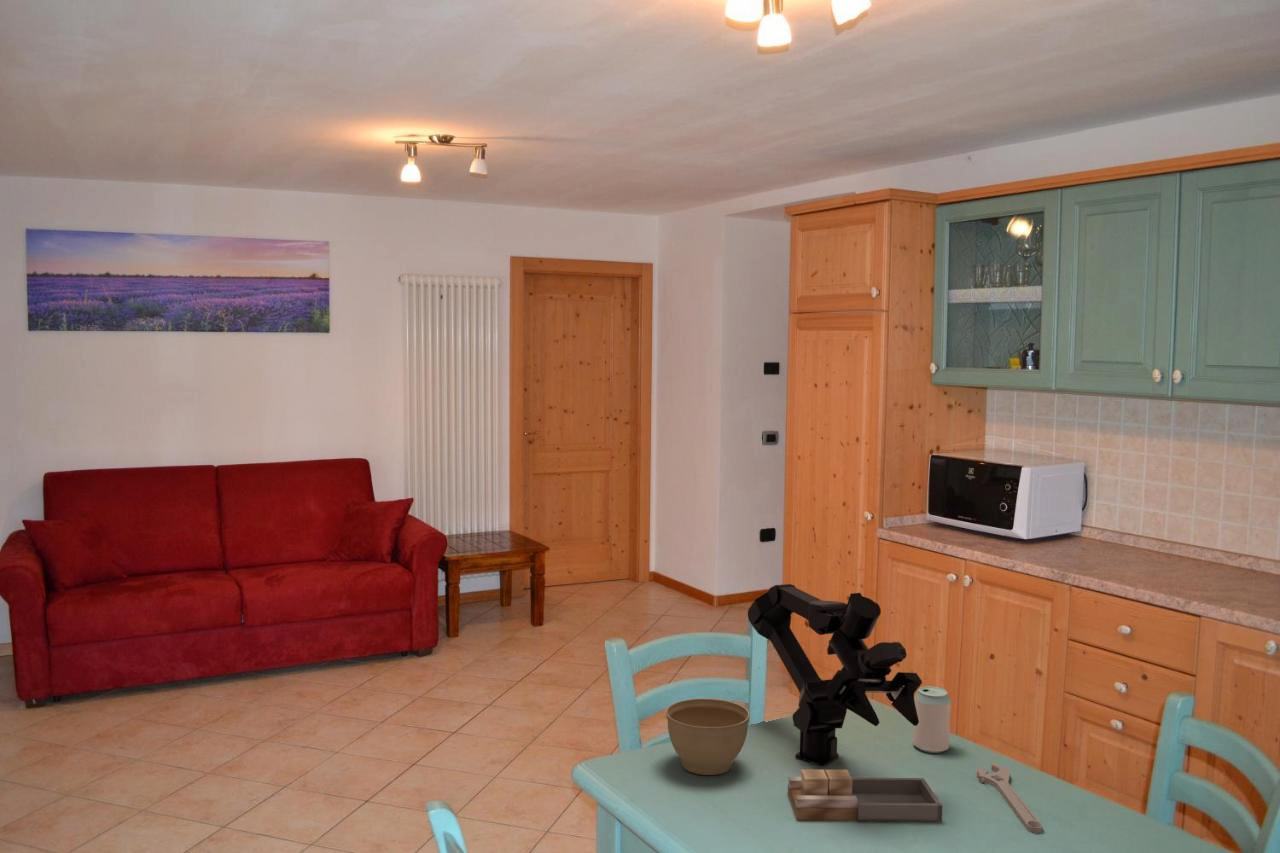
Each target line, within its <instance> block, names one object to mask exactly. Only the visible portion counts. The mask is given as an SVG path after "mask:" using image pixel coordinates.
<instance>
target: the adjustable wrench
mask: <svg viewBox="0 0 1280 853" xmlns="http://www.w3.org/2000/svg"><path fill="white" fill-rule="evenodd" d="M991 770H992V771H991V772H989V771H988V770H987V769H985V768H983V767H982V766H977V767H976V778H977V779H978V783H982V784H985V783H986V785H988V784H989V785H988V786H990V785H991V786H990V787H992V786H993V788H994V787H995V788H994V789H996V790H997V792H998V793H999V792H1000V793H999V794H1000V795H1002V796H1001V797H1002V799H1003V800H1004V799H1005V800H1004V801H1005V802H1006V804H1007V805H1008V806H1009V808H1010V809H1011V810H1012V812H1013V813H1014V814H1015V816H1016V817H1017V818H1018V820H1019V821H1020V823H1021V824H1022V826H1024V829H1025V830H1026V831H1027V832H1029V831H1030V833H1032V834H1041V833H1043V830H1044V829H1043V828H1044V827H1043V826H1044V825H1043V823H1042V822H1041V821H1040V820H1039V818H1037V816H1036V815H1035V814H1034V813H1033V812H1032V810H1031V809H1030V807H1028V805H1027V804H1026V803H1025V801H1024V800H1023V799H1022V798H1021V796H1019V794H1018V793H1017V792H1016V790H1014V788H1013V787H1012V785H1010V781H1009V780H1011V771H1010V769H1008V768H1006V767H1004V766H1002V765H998V764H995V763H994V764H993V763H992V764H991ZM993 771H994V772H993Z"/></svg>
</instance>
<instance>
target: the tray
mask: <svg viewBox="0 0 1280 853" xmlns="http://www.w3.org/2000/svg"><path fill="white" fill-rule="evenodd" d="M851 778H852V796H856V798H857V800H858V801H857V808H858V821H857V822H858V823H865V822H866V823H875V822H876V823H942V822H943V807H944V806H943V804H942V803H941V801H940V800H939V798H938V797H937V796H936V794H935V793H934V791H933V790H932V788H931V786H929V784H928V782H927V781H926V780H925V778H924V777H851Z"/></svg>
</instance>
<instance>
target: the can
mask: <svg viewBox="0 0 1280 853" xmlns="http://www.w3.org/2000/svg"><path fill="white" fill-rule="evenodd" d="M948 694H949V693H948V691H947V690H946V689H944V688H941V687H937V686H921V687H919V688H918V689H917V693H916V694H915V695H914V701H915V706H916V711H917V715H918V720H919V723H918V724H917V726H914V725H913V736H912V737H913V740H912V744H913V746H915V748H917V749H918V750H920V751H921V752H924V753H929V754H942V753H944V752H945V751H947V750H948V749H949V748H950V732H951V731H950V729H951V704H952V701H951V699H950V697H949V696H948Z"/></svg>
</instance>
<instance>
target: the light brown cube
mask: <svg viewBox="0 0 1280 853" xmlns="http://www.w3.org/2000/svg"><path fill="white" fill-rule="evenodd" d="M824 772H825V774H826V776H827V778H828V796H852V778H853V777H852V776H851V774H850V772H849V770H848V769H825V770H824Z"/></svg>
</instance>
